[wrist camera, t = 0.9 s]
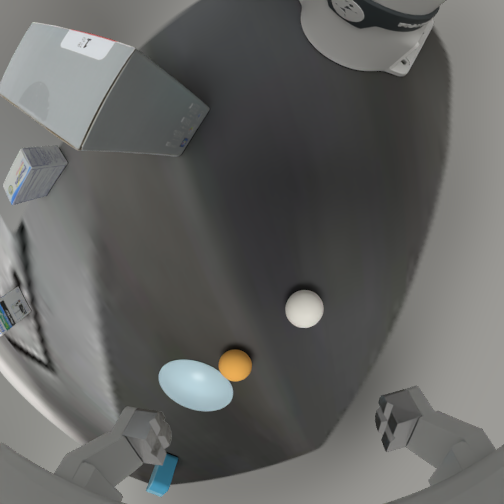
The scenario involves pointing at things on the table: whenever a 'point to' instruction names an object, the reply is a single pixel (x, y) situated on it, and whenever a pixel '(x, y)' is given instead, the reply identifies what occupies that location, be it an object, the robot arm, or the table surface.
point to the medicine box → (33, 173)
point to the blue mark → (195, 385)
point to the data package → (162, 476)
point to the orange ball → (235, 365)
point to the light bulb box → (12, 309)
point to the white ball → (304, 308)
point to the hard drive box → (100, 93)
